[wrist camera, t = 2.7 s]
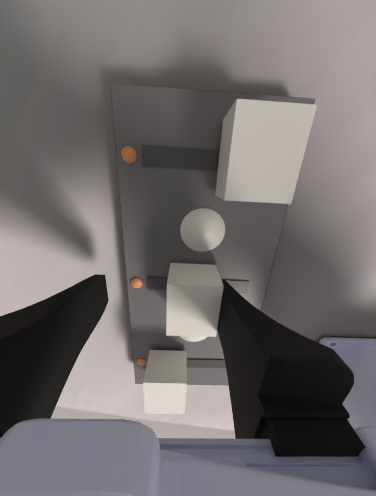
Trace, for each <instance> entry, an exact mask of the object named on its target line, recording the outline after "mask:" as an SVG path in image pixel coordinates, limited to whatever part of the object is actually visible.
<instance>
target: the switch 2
mask: <svg viewBox="0 0 376 496" xmlns="http://www.w3.org/2000/svg"><path fill="white" fill-rule="evenodd" d="M223 287H224V286H223V283H222V280H221V278H220V275H219V272H218V269H217V266H216V265H210V264H186V263H170V268H169V274H168V280H167V312H166V336H203V337H216V333H217V327H218V320H219V313H220V307H221V300H222V294H223Z"/></svg>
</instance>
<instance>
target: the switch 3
mask: <svg viewBox="0 0 376 496" xmlns="http://www.w3.org/2000/svg"><path fill="white" fill-rule="evenodd" d="M316 108H317V105H315V104H302V103H289V102H275V101H262V100H249V99H236V101H235V102H234V104H233V105H232V107H231V108H230V110H229V111H228V113H227V115H226V116H225V118H224V119H223V126H222V135H221V145H220V154H219V164H218V173H217V182H216V192H215V195H216V196H217V197H219V198H221V199H223V200H226V201H244V202H263V203H281V204H291V203H292V199H293V195H294V191H295V188H296V184H297V180H298V176H299V172H300V169H301V165H302V161H303V157H304V153H305V150H306V146H307V142H308V138H309V134H310V131H311V127H312V123H313V119H314V115H315V112H316Z"/></svg>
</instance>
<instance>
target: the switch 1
mask: <svg viewBox="0 0 376 496" xmlns="http://www.w3.org/2000/svg"><path fill="white" fill-rule="evenodd" d="M186 387H187V355H186V351H173V350H150V351H149V356H148V361H147V366H146V371H145V376H144V381H143V389H144V406H145V414H184V412H185V399H186Z"/></svg>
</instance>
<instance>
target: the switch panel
mask: <svg viewBox="0 0 376 496" xmlns="http://www.w3.org/2000/svg"><path fill="white" fill-rule="evenodd" d="M110 87H111V99H112V111H113V123H114V135H115V147H116V159H117V170H118V182H119V194H120V206H121V218H122V230H123V242H124V254H125V265H126V277H127V289H128V301H129V313H130V325H131V337H132V349H133V361H134V372H135V384H143V381H144V376H145V371H146V366H147V361H148V356H149V351H150V350H173V351H186V355H187V385H229V384H228V377H227V371H226V365H225V359H224V354H223V350H222V346H221V342H220V339H219V335H218V331H217V333H216V337H203V336H166V312H167V280H168V274H169V268H170V263H186V264H210V265H216V266H217V269H218V272H219V275H220V278H221V280H226V281H227V282H228V283H229V284H230V285H231V286H232V287H233V288H234V289H235V290H236V291H237V292H238V293H239V294H240V295H241V296H242V297H244V298H245V299H246V300H247V301H248V302H249V303H251V304H252V305H253V306H254V307H256V308H257V309H258V310H260V311H261V308H262V305H263V301H264V297H265V293H266V289H267V285H268V281H269V277H270V273H271V270H272V266H273V262H274V258H275V254H276V250H277V246H278V242H279V238H280V234H281V231H282V227H283V223H284V219H285V215H286V211H287V207H288V204H281V203H263V202H244V201H226V200H223V199H221V198H219V197H217V196H216V195H215V192H216V182H217V173H218V164H219V154H220V145H221V135H222V126H223V119H224V118H225V116H226V115H227V113H228V111H229V110H230V108H231V107H232V105H233V104H234V102H235V101H236V99H249V100H262V101H275V102H289V103H302V104H314V102H315V99H311V98H298V97H285V96H272V95H259V94H246V93H232V92H219V91H206V90H193V89H180V88H167V87H153V86H140V85H127V84H114V83H110Z"/></svg>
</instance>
